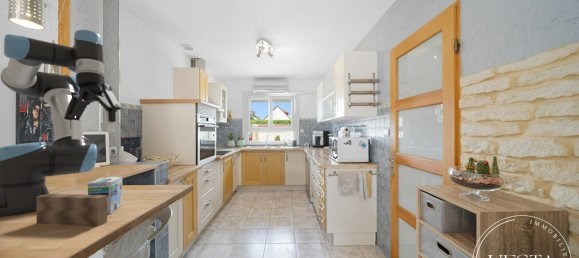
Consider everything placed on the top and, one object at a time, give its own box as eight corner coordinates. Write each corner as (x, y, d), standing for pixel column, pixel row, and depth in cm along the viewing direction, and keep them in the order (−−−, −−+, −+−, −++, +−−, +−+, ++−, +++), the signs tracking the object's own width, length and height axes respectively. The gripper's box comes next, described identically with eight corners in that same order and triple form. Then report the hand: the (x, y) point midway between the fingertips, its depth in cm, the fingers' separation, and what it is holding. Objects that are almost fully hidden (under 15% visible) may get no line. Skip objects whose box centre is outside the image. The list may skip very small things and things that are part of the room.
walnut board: (36, 223, 69) (36, 196, 69) (47, 219, 72) (48, 193, 72) (97, 226, 67) (98, 198, 67) (107, 222, 70) (107, 195, 70)
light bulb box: (111, 214, 77) (111, 181, 77) (86, 216, 75) (86, 183, 75) (123, 204, 87) (123, 175, 87) (101, 206, 85) (101, 177, 85)
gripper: (48, 79, 79) (50, 141, 76) (110, 62, 75) (114, 127, 72) (73, 85, 86) (75, 142, 84) (130, 70, 82) (135, 130, 79)
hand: (93, 135), depth 78 cm, fingers open, 13 cm apart
